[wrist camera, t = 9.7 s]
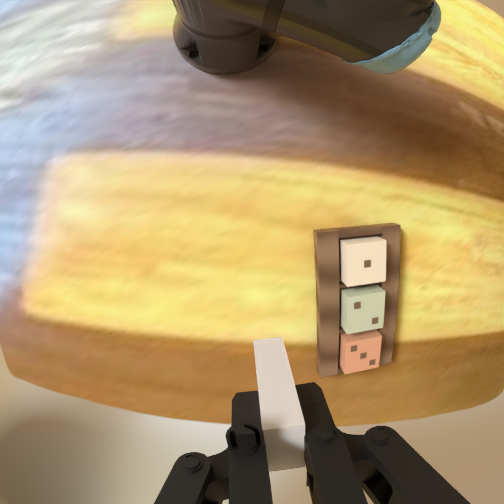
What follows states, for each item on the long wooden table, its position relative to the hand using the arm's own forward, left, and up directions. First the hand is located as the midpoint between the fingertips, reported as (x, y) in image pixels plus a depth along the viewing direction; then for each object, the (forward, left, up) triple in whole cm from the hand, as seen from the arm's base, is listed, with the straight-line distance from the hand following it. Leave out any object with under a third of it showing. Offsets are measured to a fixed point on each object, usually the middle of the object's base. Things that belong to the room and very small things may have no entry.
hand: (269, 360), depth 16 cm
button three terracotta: (+18, +16, -28) cm, 37 cm away
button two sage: (+11, +16, -28) cm, 34 cm away
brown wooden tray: (+11, +16, -29) cm, 35 cm away
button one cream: (+3, +16, -28) cm, 32 cm away
